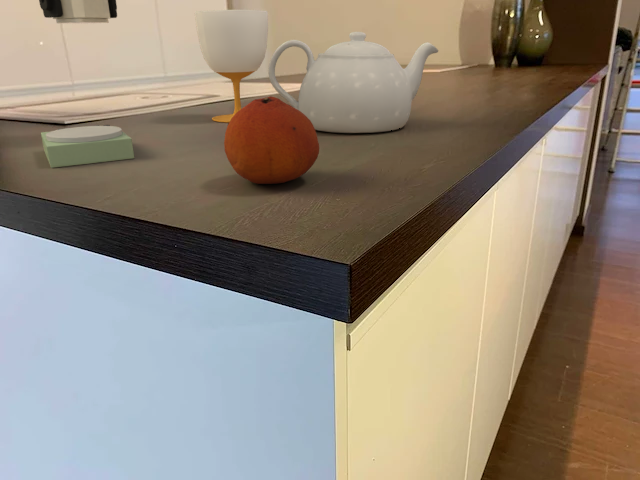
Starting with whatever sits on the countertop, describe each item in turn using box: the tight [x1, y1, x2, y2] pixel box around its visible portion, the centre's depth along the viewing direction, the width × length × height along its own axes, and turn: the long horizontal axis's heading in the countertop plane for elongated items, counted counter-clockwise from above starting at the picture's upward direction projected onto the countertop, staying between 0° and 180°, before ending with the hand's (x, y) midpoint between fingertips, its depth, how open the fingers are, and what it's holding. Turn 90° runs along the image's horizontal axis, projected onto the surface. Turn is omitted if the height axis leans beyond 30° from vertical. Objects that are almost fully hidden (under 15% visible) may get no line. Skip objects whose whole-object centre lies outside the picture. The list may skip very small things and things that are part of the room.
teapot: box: [267, 31, 439, 134], centre depth 81 cm, size 19×18×14 cm
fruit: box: [223, 95, 320, 185], centre depth 51 cm, size 9×9×8 cm
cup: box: [194, 9, 269, 124], centre depth 90 cm, size 12×12×17 cm
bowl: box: [52, 0, 112, 25], centre depth 68 cm, size 7×7×5 cm
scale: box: [40, 124, 135, 169], centre depth 65 cm, size 11×9×3 cm
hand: (81, 16), depth 69 cm, fingers closed on bowl, 7 cm apart
